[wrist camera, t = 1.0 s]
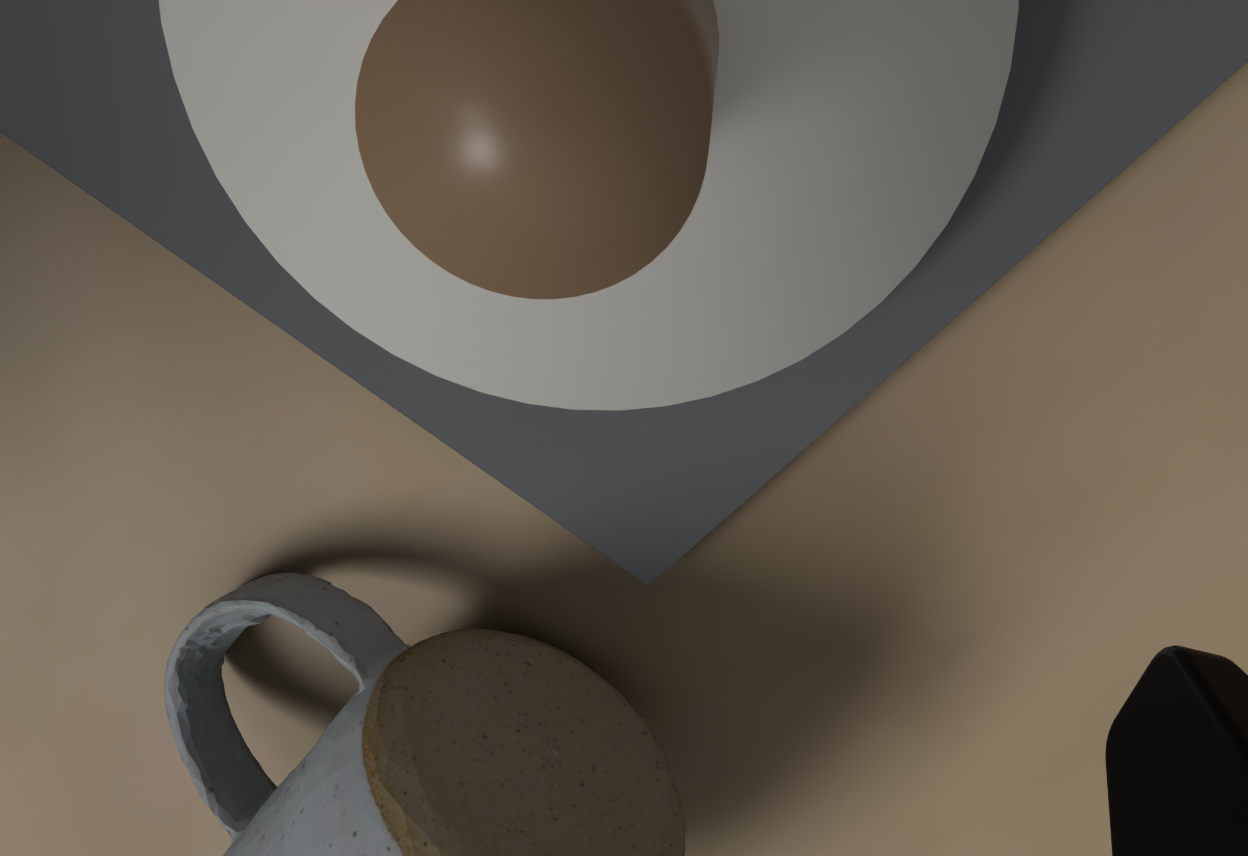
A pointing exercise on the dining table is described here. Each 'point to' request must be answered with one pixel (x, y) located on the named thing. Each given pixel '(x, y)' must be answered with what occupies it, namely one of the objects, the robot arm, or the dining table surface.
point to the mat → (649, 437)
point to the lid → (595, 172)
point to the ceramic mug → (424, 743)
